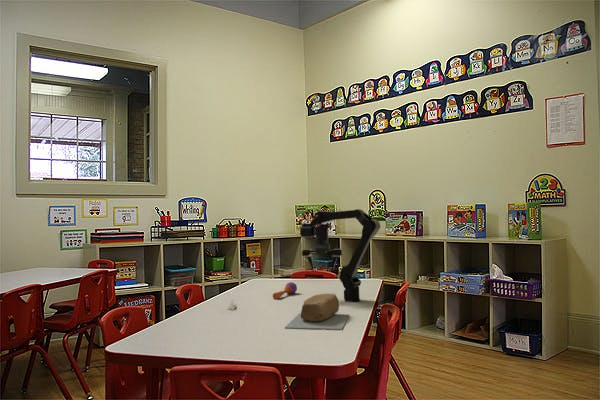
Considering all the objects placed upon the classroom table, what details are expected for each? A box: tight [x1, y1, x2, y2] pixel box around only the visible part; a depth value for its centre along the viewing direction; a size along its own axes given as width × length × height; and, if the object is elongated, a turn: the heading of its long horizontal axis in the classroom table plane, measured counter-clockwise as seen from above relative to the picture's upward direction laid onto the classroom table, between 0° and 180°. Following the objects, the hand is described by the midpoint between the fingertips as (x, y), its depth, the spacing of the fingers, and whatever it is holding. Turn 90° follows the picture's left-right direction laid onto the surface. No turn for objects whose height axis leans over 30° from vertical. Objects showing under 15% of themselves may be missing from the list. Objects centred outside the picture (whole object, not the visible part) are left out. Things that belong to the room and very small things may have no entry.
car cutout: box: [226, 298, 238, 310], centre depth 207 cm, size 15×7×4 cm, turn 171°
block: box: [300, 293, 340, 322], centre depth 187 cm, size 11×8×20 cm
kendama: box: [272, 281, 298, 300], centre depth 241 cm, size 6×6×20 cm
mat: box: [284, 312, 350, 331], centre depth 181 cm, size 20×24×1 cm
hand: (322, 270), depth 231 cm, fingers open, 9 cm apart
